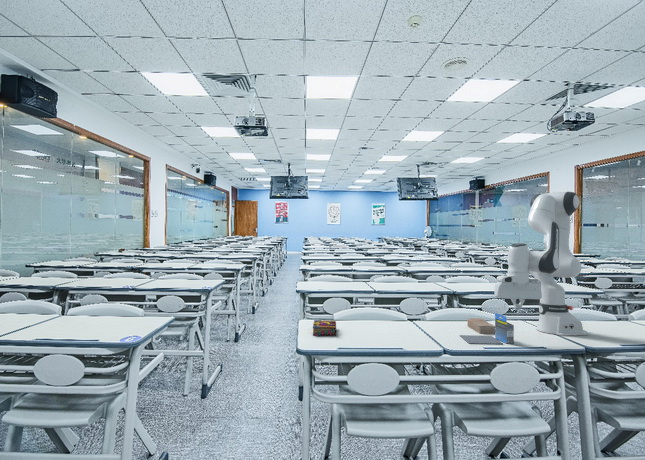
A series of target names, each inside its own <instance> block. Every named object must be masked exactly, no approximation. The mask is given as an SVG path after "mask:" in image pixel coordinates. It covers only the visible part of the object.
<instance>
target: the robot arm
mask: <svg viewBox="0 0 645 460" xmlns="http://www.w3.org/2000/svg"><path fill="white" fill-rule="evenodd" d="M529 203H530V205H529V206H530V210H529V213H528V216H527V225H528V226H529V227H530V228H531V229H532V230H534V231H535V232H536V233H540V234H543V244H544V246H545V247H546V249H544V250H542V251H537V250H536V251H534V250H530V249H529V246H528V244H527V243H513V244H511V245H509V247H508V252H507V264H508V268H507V273H505V274H503V275H499V276H497V277H496V281H497V282H496V283H495V285H494V292H493V293H494V296H495V298H498V299H510V300H511V303H512V304H513V309H517V310H518V309H519V310H521V309H523V305H524V303H525V301H526V300H539V302H538V313H539V317H538V323H537V326H536V330H537V331H539V332H542V333H546V334H552V335H558V336H563V337H564V336H567V337H568V336H569V337H570V336H589V332H588V331H587V330H585V329H584V327H583V322H582V321H581V320H580V319H579V318H577V316H575V315H573V314H572V312H570V311H573V309H574V307H573V306H572V305H567V304H566V290H565V289H564V287H563V286H562V285H561V284H558V282H556V281H555V278H562V279H564V278H565V279H569V278H575V277H578V276H579V275H580V273H581V271H582V264H581V262H580V260H579V259H578V258H577V257H575V256H574V255H573V253H572V252H571V249H570V234H571V216H573V213H575V212H577V210H578V208H579V206H580V198H579V195H578V194H577V193H576V192H574V191H573V192H572V191H566V192H565V191H552V192H548V193H539V194H538V193H537V194H534V195H533V197H531V198H530V202H529ZM530 275H532V277H534V278H530ZM517 299H518V300H519V303H517ZM569 310H570V311H569Z"/></svg>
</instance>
